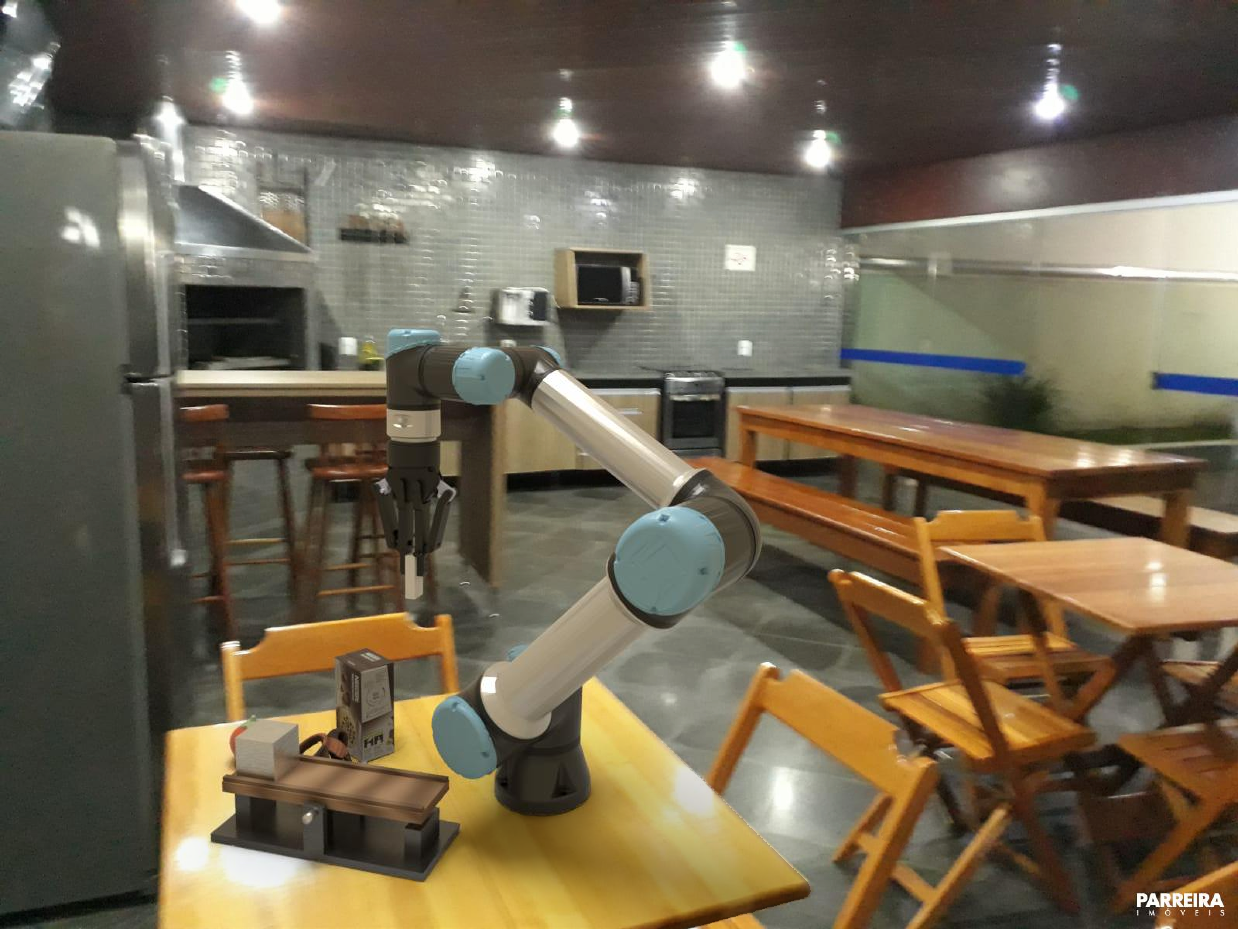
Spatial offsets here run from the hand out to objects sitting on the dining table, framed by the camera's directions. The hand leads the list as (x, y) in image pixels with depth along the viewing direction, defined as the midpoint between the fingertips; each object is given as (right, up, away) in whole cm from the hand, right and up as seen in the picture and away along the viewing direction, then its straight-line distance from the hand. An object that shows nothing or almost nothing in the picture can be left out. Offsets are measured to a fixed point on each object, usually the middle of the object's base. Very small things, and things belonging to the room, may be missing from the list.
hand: (414, 596), depth 128 cm
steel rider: (-20, -24, -4) cm, 32 cm away
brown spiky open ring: (-17, -31, +11) cm, 37 cm away
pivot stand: (-10, -33, -5) cm, 35 cm away
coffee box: (-13, -29, +20) cm, 38 cm away
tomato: (-30, -30, +15) cm, 44 cm away
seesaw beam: (-9, -26, -6) cm, 29 cm away
